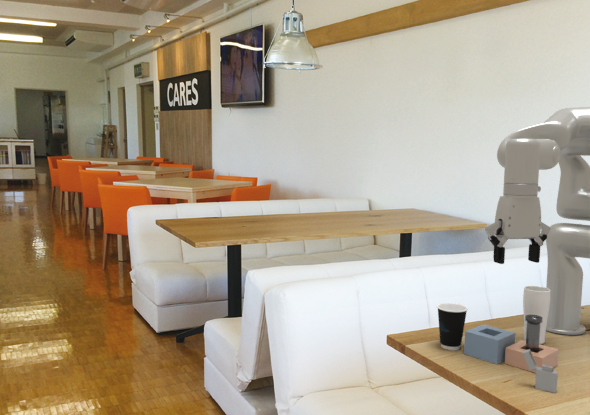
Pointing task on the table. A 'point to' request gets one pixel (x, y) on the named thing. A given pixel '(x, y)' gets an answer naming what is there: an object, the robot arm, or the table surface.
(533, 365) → the lighter
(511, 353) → the mount block
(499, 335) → the socket block
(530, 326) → the lock pin
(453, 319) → the dixie cup
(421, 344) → the table surface
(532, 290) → the drinking glass
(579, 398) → the table surface
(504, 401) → the table surface
